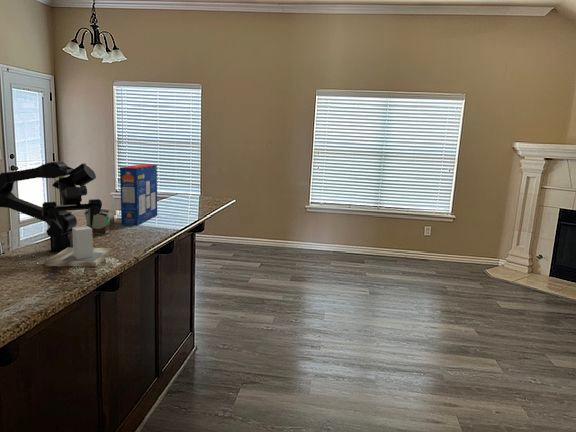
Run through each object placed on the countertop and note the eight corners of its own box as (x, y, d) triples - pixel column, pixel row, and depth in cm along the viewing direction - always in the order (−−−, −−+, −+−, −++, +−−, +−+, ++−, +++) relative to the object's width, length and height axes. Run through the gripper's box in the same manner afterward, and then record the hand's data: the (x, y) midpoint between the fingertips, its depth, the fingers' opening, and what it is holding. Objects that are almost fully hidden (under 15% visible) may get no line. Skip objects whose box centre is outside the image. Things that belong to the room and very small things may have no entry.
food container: (117, 232, 189) (117, 210, 187) (108, 235, 183) (107, 212, 181) (94, 229, 192) (94, 208, 190) (85, 232, 186) (84, 210, 184)
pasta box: (143, 214, 232) (142, 164, 227) (157, 215, 232) (156, 164, 227) (121, 224, 204) (119, 167, 199) (137, 225, 204) (136, 168, 199)
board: (45, 265, 139) (45, 261, 138) (67, 251, 156) (67, 246, 156) (95, 266, 140) (95, 261, 140) (112, 252, 158) (112, 247, 158)
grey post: (73, 255, 145) (72, 227, 144) (88, 253, 149) (87, 226, 147) (77, 259, 142) (76, 230, 140) (93, 256, 145) (92, 228, 143)
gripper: (40, 178, 141) (48, 216, 135) (99, 177, 152) (109, 211, 146) (38, 198, 149) (46, 235, 142) (95, 195, 160) (104, 229, 153)
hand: (77, 227), depth 146 cm, fingers open, 9 cm apart
